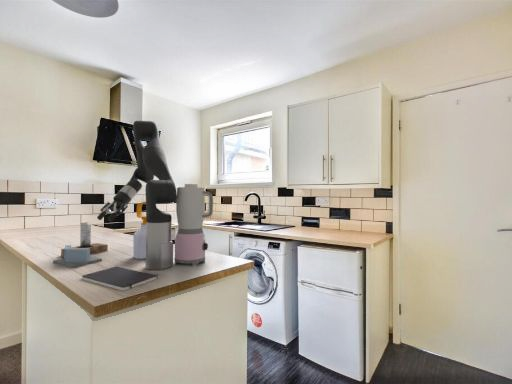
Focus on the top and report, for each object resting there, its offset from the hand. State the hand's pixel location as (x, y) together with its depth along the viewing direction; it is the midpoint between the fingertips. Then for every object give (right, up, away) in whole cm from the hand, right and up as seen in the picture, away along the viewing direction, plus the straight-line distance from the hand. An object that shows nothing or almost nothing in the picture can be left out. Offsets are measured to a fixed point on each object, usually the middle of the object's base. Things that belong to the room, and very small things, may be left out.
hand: (104, 219), depth 130 cm
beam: (-4, -15, -8) cm, 17 cm away
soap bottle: (+25, -15, -12) cm, 32 cm away
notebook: (+29, -16, -42) cm, 53 cm away
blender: (+49, -16, -21) cm, 55 cm away
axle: (-4, -15, -8) cm, 17 cm away
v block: (+2, -15, -23) cm, 27 cm away
